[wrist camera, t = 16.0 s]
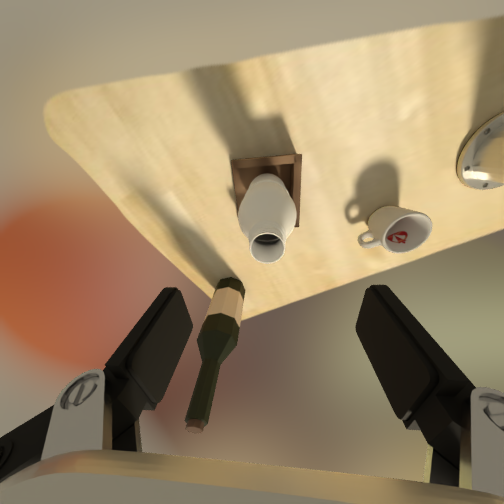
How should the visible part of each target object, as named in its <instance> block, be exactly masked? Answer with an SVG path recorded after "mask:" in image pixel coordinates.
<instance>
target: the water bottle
mask: <svg viewBox="0 0 504 504" xmlns="http://www.w3.org/2000/svg"><path fill="white" fill-rule="evenodd" d="M296 218H297V213H296V207H295V204H294V202H293V200H292V198H291V197H290V195H289V193H288V191H287V189H286V188H285V185H284V183H283V182H282V180H281V179H280V178H279V177H277V176H276V175H274V174H269V173H265V174H261V175H259V176H257V177H256V178H255V179H253V181H252V182H251V184H250V186H249V188H248V190H247V192H246V194H245V196H244V199H243V200H242V202H241V204H240V207H239V212H238V221H239V225H240V228H241V230H242V232H243V233H244V235H245V236H246V237H247V238H248V239H249V243H250V252H251V255H252V256H253V257H254V259H255V260H257V261H259V262H261V263H266V264H269V263H274V262H276V261H278V260H279V259H281V257H282V256H283V255H284V252H285V242H286V238H287V237H288V236H289V235H290V234H291V232H292V231H293V229H294V226H295V223H296Z"/></svg>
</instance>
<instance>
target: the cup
mask: <svg viewBox="0 0 504 504" xmlns="http://www.w3.org/2000/svg"><path fill="white" fill-rule="evenodd" d="M368 228H369V230H368V231H366V232H364V233H362V234H361V235H359V236H358V243H359V244H360V246H362V247H363V248H373V247H376V246H379V245H381V246H383V247H384V248H385V249H386V250H388V251H389V252H392V253H406V252H409V251H412V250H414V249H416V248H418V247H419V246H421V245H422V244H423V243H424V242H425V241H426V240H427V239H428V237H429V236H430V234H431V231H432V222H431V219H430V218H429V217H428V216H427V215H425V214H423V213H421V212H417V211H413V210H409V209H405V208H401V207H396V206H385V207H382V208H379V209H378V210H376V211H375V212H374V213H373V214H372V215H371V216H370V218H369V220H368ZM369 237H371V238H374V239H373V240H372V241H369V242H364V241H363V240H364V239H365V238H369Z"/></svg>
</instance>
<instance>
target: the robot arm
mask: <svg viewBox="0 0 504 504" xmlns="http://www.w3.org/2000/svg"><path fill="white" fill-rule="evenodd" d="M457 174H458V178H459V179H460V181H461V182H462V183H463V184H464V185H465V186H467V187H469V188H474V189H479V190H486V189H493V188H497V187H500V186H503V185H504V112H502V113H500V114H498V115H497V116H495V117H494V118H492V119H490V120H489V121H488V122H487V123H485V124H484V125H483V126H482V127H480V128H479V129H478V130H477V131H476V132H475V134H474V135H473V136H472V137H471V138H470V140H469V141H468V142H467V144H466V145H465V147H464V149H463V150H462V152H461V155H460V157H459V160H458V164H457ZM192 328H193V324H192V321H191V318H190V315H189V313H188V310H187V307H186V305H185V302H184V299H183V296H182V293H181V291H180V290H178V289H177V288H175V287H173V288H172V287H169V288H168V287H166V288H164V289H163V290H162V291H161V292H160V294H159V295H158V296H157V298H156V299H155V300H154V302H153V303H152V304H151V306H150V307H149V308H148V309H147V311H146V312H145V313H144V315H143V316H142V317H141V319H140V320H139V321H138V322H137V324H136V325H135V326H134V328H133V329H132V330H131V331H130V333H129V334H128V335H127V337H126V338H125V339H124V341H123V342H122V343H121V344H120V346H119V347H118V348H117V350H116V351H115V352H114V354H113V355H112V356H111V358H110V359H109V360H108V361H107V363H106V364H105V366H106V367H105V368H104V370H103V371H102V370H100V369H93V370H89V371H87V372H84V373H82V374H81V375H79V376H78V377H76V378H75V379H74V380H72V381H71V382H70V383H69V384H68V385H67V386H66V387H65V388H64V389H63V390H62V391H61V393H60V394H59V396H58V397H57V399H56V402H55V404H54V405H53V406H51V407H50V408H48V409H47V410H45V411H44V412H42V413H40V414H38V415H37V416H35V417H34V418H32V419H30V420H29V421H27V422H25V423H24V424H22V425H20V426H19V427H17V428H15V429H14V430H12V431H11V432H9V433H7V434H6V435H4V436H2V437H1V438H0V504H504V393H502V392H500V391H498V390H495V389H491V388H487V387H477V388H476V387H475V386H474V385H473V384H472V383H471V381H470V380H469V379H468V378H467V377H466V376H465V375H464V373H463V372H462V371H461V370H460V369H459V368H458V366H457V365H456V364H455V363H454V362H453V361H452V360H451V358H450V357H449V356H448V355H447V354H446V353H445V352H444V350H443V349H442V348H441V347H440V346H439V345H438V343H437V342H436V341H435V340H434V339H433V338H432V337H431V335H430V334H429V333H428V332H427V331H426V330H425V329H424V328H423V326H422V325H421V324H420V323H419V322H418V321H417V319H416V318H415V317H414V316H413V315H412V314H411V313H410V311H409V310H408V309H407V308H406V307H405V306H404V304H402V302H401V301H400V300H399V299H398V297H397V296H396V295H395V294H394V293H393V292H392V291H391V290H390V288H389V287H388V286H386V285H371V286H370V287H369V288H367V289H366V291H365V295H364V298H363V302H362V305H361V309H360V312H359V316H358V320H357V323H356V332H357V335H358V337H359V339H360V341H361V343H362V345H363V348H364V350H365V352H366V354H367V355H368V358H369V360H370V362H371V364H372V366H373V368H374V371H375V373H376V375H377V377H378V379H379V381H380V383H381V385H382V387H383V390H384V391H385V393H386V396H387V398H388V400H389V402H390V404H391V406H392V408H393V410H394V412H395V414H396V416H397V417H398V418H399V419H401V420H402V421H403V423H404V425H405V427H406V429H409V430H421V432H422V433H423V435H424V437H425V439H426V441H427V443H428V446H427V454H426V461H425V462H426V463H425V469H424V477H423V482H417V481H409V480H401V479H394V478H385V477H376V476H366V475H358V474H348V473H339V472H330V471H321V470H311V469H303V468H292V467H283V466H274V465H264V464H255V463H245V462H236V461H225V460H216V459H206V458H196V457H186V456H176V455H166V454H156V453H145V452H142V443H141V434H140V424H139V416H140V414H141V412H142V410H155V408H156V405H157V403H159V402H160V401H161V400H162V398H163V396H164V394H165V392H166V390H167V387H168V385H169V383H170V380H171V378H172V376H173V373H174V371H175V369H176V366H177V364H178V362H179V359H180V357H181V355H182V352H183V350H184V348H185V345H186V343H187V341H188V339H189V336H190V334H191V331H192Z"/></svg>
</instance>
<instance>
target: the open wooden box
mask: <svg viewBox="0 0 504 504" xmlns="http://www.w3.org/2000/svg"><path fill="white" fill-rule="evenodd" d="M231 162H232V170H233V178H234V186H235V193H236V201H237V209H238V212H239V207H240V204H241V202H242V200H243V199H244V196H245V194H246V192H247V190H248V188H249V186H250V184H251V182H252V181H253V179H255V178H256V177H257V176H259V175H261V174H265V173H269V174H274V175H276V176H277V177H279V178H280V179H281V180H282V182H283V183H284V185H285V188H286V189H287V191H288V193H289V195H290V197H291V198H292V200H293V202H294V204H295V207H296V213H297V218H296V223H295V226H294V227H299V215H300V190H301V166H302V154H289V155H279V156H268V157H258V158H248V159H238V160H231Z"/></svg>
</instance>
